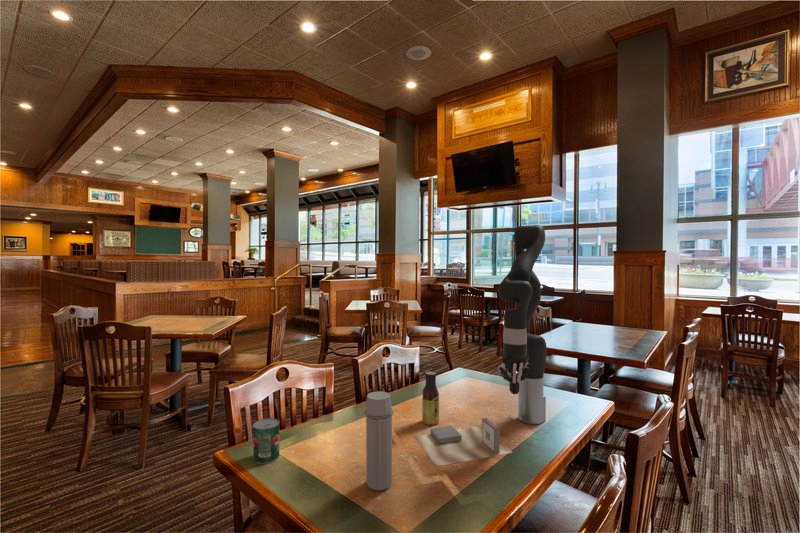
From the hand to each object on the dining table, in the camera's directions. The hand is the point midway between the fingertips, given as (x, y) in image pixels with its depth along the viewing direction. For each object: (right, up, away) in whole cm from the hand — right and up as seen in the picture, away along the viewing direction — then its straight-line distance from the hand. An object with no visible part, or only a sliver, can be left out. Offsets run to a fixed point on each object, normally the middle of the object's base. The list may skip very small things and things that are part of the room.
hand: (514, 393), depth 126 cm
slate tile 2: (-8, -17, -2) cm, 19 cm away
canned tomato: (-80, -19, -5) cm, 82 cm away
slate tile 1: (-18, -16, +6) cm, 25 cm away
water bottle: (-43, -19, -21) cm, 52 cm away
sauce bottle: (-26, -18, +17) cm, 36 cm away
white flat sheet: (-18, -18, 0) cm, 25 cm away
